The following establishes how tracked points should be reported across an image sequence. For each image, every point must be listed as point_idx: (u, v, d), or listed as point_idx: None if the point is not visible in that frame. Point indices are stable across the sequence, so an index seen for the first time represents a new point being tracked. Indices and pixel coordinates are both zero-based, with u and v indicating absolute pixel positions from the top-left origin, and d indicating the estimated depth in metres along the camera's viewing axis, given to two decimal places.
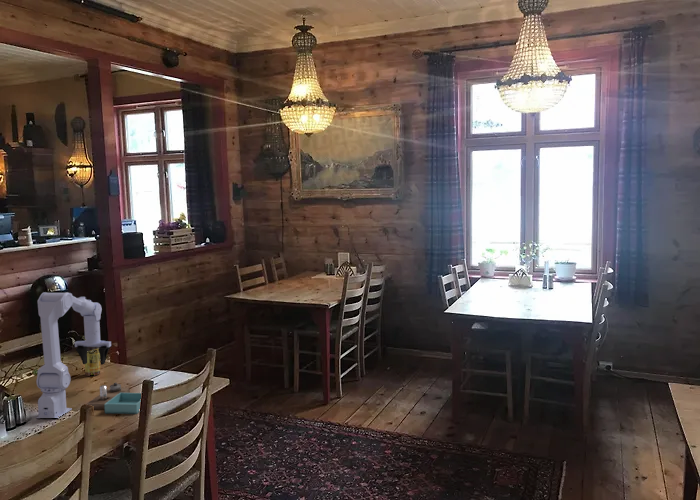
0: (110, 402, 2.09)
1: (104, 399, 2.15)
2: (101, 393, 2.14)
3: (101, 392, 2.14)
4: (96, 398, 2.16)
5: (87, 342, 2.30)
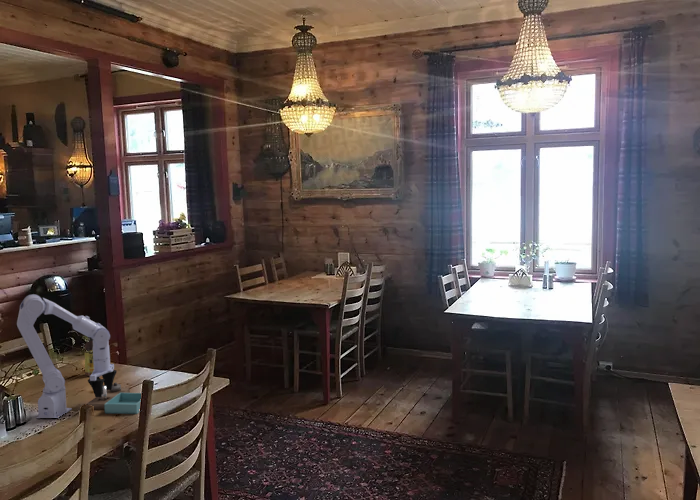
0: (110, 402, 2.09)
1: (104, 399, 2.15)
2: None
3: None
4: (96, 398, 2.16)
5: None
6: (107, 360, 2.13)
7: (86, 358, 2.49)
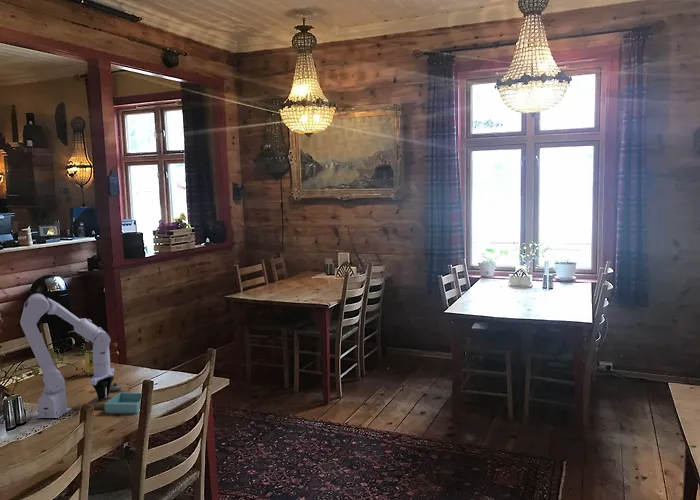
0: (110, 402, 2.09)
1: (104, 399, 2.15)
2: None
3: None
4: (96, 398, 2.16)
5: None
6: (107, 364, 2.13)
7: (86, 358, 2.49)
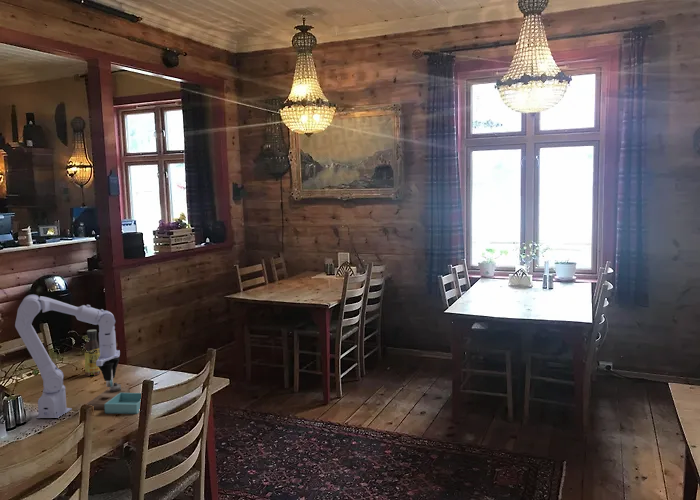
0: (110, 402, 2.09)
1: (110, 381, 2.13)
2: None
3: None
4: (96, 398, 2.16)
5: None
6: (113, 346, 2.12)
7: (86, 358, 2.49)
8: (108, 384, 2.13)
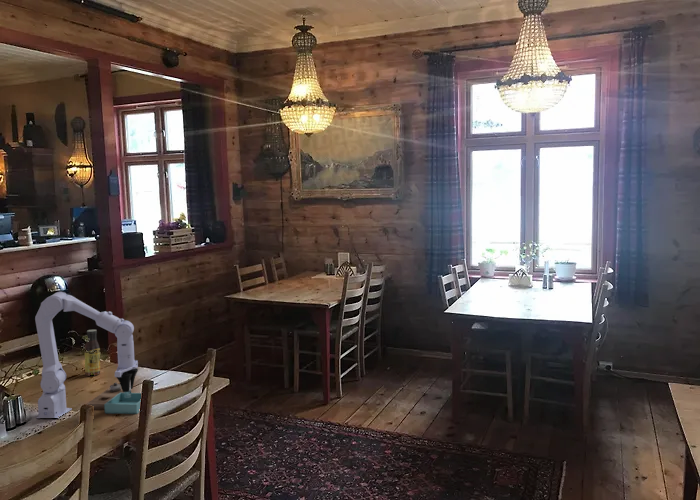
0: (110, 402, 2.09)
1: (128, 392, 2.10)
2: None
3: None
4: (96, 398, 2.16)
5: None
6: (132, 356, 2.09)
7: (86, 358, 2.49)
8: (126, 395, 2.10)
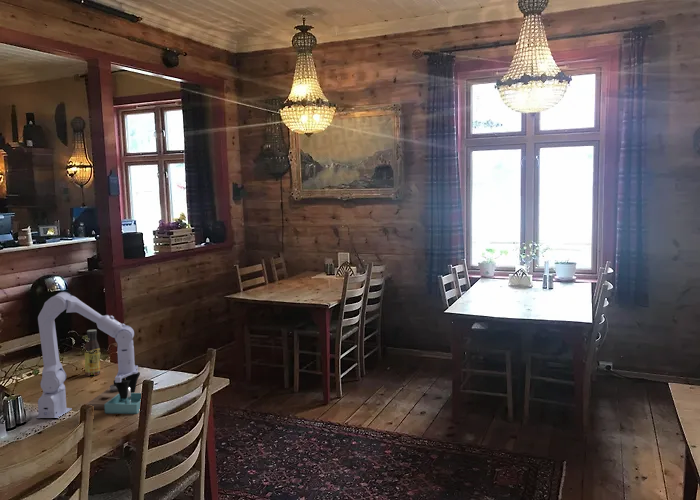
0: (110, 402, 2.09)
1: (128, 400, 2.11)
2: None
3: None
4: (96, 398, 2.16)
5: None
6: (132, 361, 2.09)
7: (86, 358, 2.49)
8: None
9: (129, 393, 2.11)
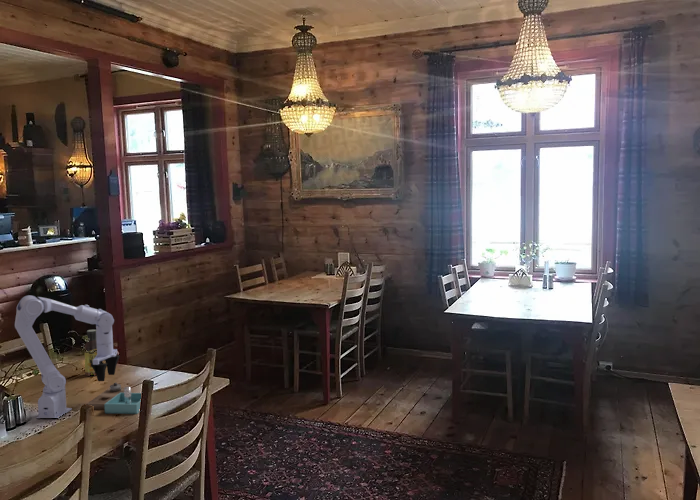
0: (110, 402, 2.09)
1: (128, 401, 2.11)
2: (125, 395, 2.10)
3: (125, 394, 2.10)
4: (96, 398, 2.16)
5: None
6: (110, 345, 2.15)
7: (86, 358, 2.49)
8: None
9: (129, 393, 2.11)
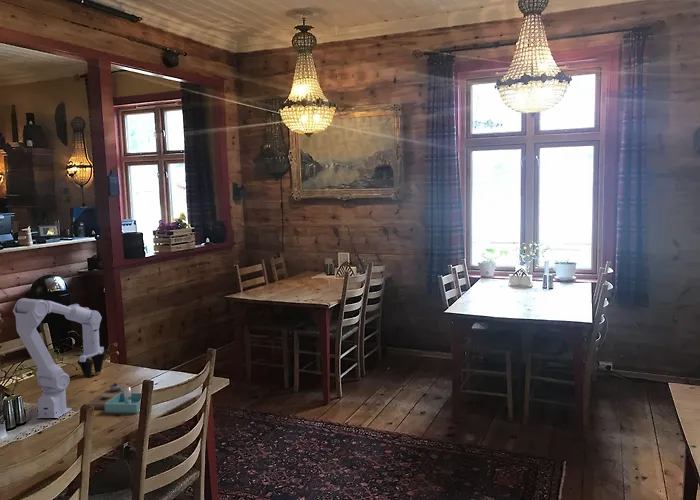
0: (110, 402, 2.09)
1: (128, 401, 2.11)
2: (125, 395, 2.10)
3: (125, 394, 2.10)
4: (96, 398, 2.16)
5: None
6: (96, 342, 2.19)
7: None
8: None
9: (129, 393, 2.11)
